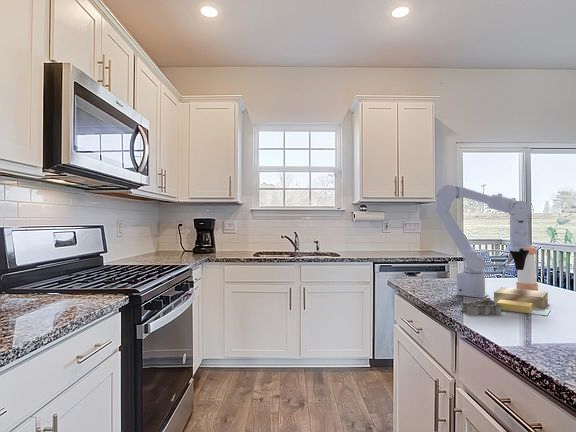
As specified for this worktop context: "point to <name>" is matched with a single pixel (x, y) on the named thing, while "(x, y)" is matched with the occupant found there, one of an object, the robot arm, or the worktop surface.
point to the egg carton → (481, 307)
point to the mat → (535, 311)
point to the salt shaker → (528, 272)
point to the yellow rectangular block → (515, 306)
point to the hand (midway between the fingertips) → (519, 269)
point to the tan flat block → (522, 296)
